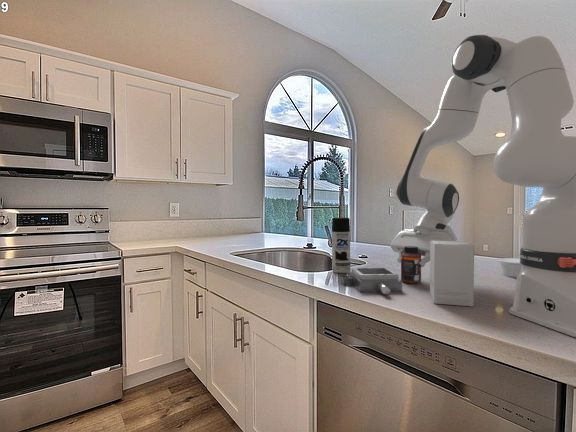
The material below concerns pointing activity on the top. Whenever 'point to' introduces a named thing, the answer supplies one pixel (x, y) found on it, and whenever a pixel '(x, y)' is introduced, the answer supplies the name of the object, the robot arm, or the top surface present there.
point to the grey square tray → (373, 280)
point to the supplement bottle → (410, 265)
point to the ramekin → (510, 266)
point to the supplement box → (452, 272)
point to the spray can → (341, 245)
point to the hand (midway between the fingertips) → (409, 263)
